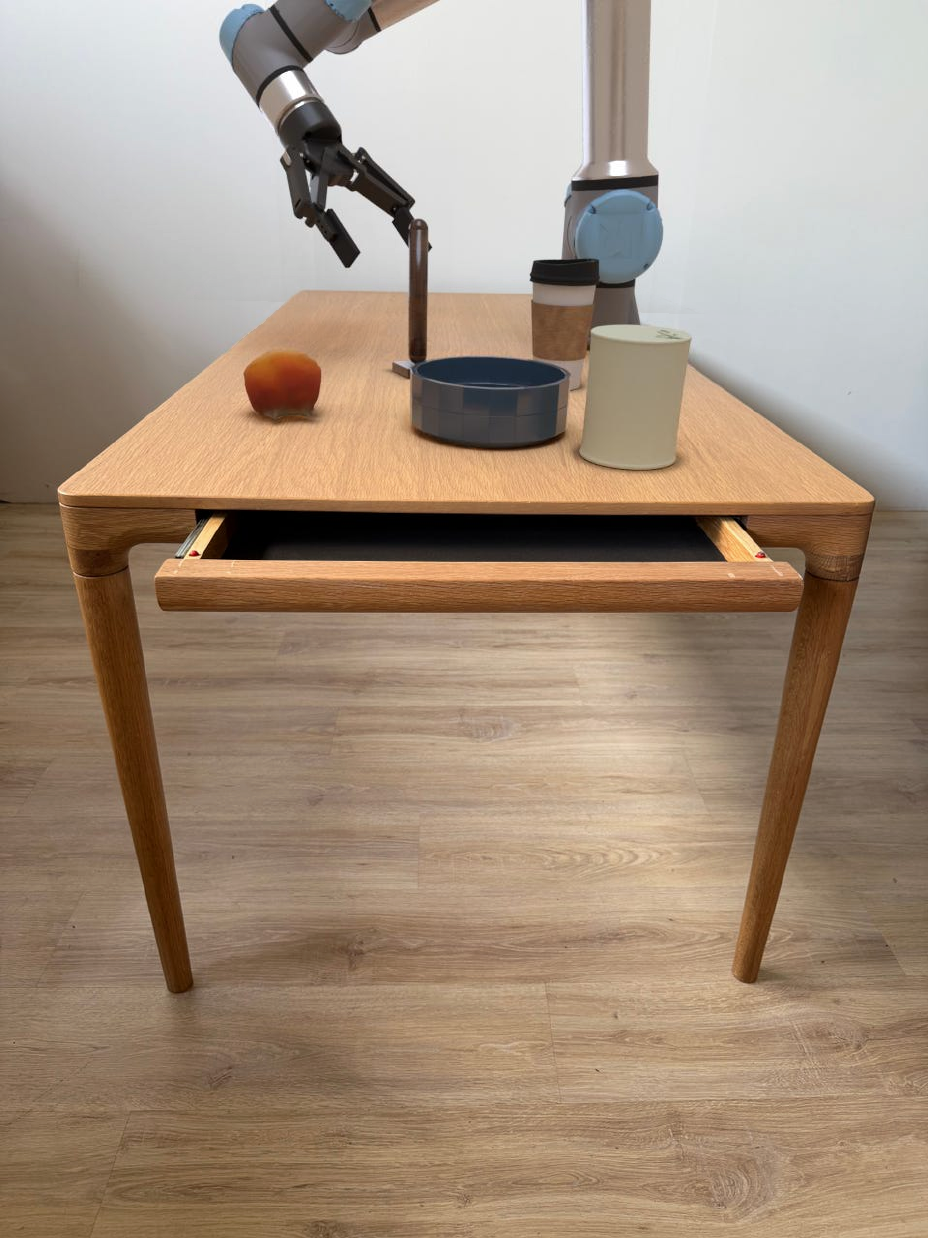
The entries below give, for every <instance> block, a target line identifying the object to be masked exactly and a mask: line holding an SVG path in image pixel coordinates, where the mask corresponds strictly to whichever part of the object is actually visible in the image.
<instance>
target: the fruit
mask: <svg viewBox="0 0 928 1238" xmlns="http://www.w3.org/2000/svg"><path fill="white" fill-rule="evenodd" d="M243 379H244V380H243V381H244V387H245V392H246V394H247V395H246V396H247V397H248V400H249V402H250V405H251V407H252V409H253V410H254V411H255V413H257V414H258V415H259V416H261V417H263V418H271V419H273V420H275V421H277V420H278V419H280V418H282V417H288V416H301V417H302V416H303V417H307V418H308V419H310V420H311V421H312V422H314V420H313V418H312V416H311V415H310V413H311V412H313V411H314V409H315V405H316V403H317V401H318V399H319V397H320V390H321V384H322V369H321V367H320V366H319V364H318V362H317V361H316V360H314V358H312V357H310V355H308V354H307V353H305V352H300V351H298V350H296V349H286V348H285V349H281V348H279V349H277V348H276V349H271V350H268V351H266V352H264V353H262V354H261V355H259V357H257V358H255V359H253V360H252V361H251V362H250V363H249V364H247V366H246V367H245V369H244V371H243Z"/></svg>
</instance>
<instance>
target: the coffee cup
mask: <svg viewBox="0 0 928 1238" xmlns="http://www.w3.org/2000/svg"><path fill="white" fill-rule="evenodd" d="M529 277H530V278H529V282H530V283H532V299H531V300H530V309H531V311H530V312H531V315H530V316H531V344H532V345H531V346H532V347H531V348H532V349H531V350H532V360H536V361H540V362H545V363H550V364H553V365H556V366H559V367H561V368H564V369H566V370H567V371H568V372H569V373H571V387H570V391H574V390H578V389H579V388H580V387H581V381H582V376H583V370H584V363H585V358H586V353H587V349H588V348H587V343H588V337H589V332H590V326H591V321H592V315H593V310H594V304H595V303H594V302H593V300H594V294H595V288H596V285H598V284H599V279H600V276H599V260H598V259H592V258H587V259H562V258H561V259H555V258H554V259H553V258H552V259H550V258H549V259H535V260H532V267H531V270H530V272H529Z"/></svg>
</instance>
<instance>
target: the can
mask: <svg viewBox="0 0 928 1238" xmlns="http://www.w3.org/2000/svg"><path fill="white" fill-rule="evenodd" d="M692 340H693V336H692V334H690V333H689V332H688V331H687V332H686V331H684V330H679V329H676V328H671V327H666V326H665V327H664V326H655V325H643V324H641V325H606V326H599V327H595V328H593V329H592V330H591V345H590V348H589V357H588V358H589V359H588V371H587V383H586V393H585V394H586V395H585V405H584V415H583V427H582V436H581V443H580V447H579V450H578V451H579V455H580V456H581V457H582V458H583V459H584V460H586V461H588V462H590V463H593V464H595V465H598V466H601V467H602V466H603V467H606V468H611V469H621V470H630V471H633V470H634V471H647V470H657V469H662V468H667V467H670V466H671V465H673V464H674V463H675V462H676V461H677V453H676V452H677V451H676V450H677V440H678V433H679V432H678V431H679V425H680V424H679V423H680V418H681V409H682V403H683V395H684V388H685V382H686V376H687V375H686V374H687V368H688V363H689V362H688V361H689V354H690V348H691V343H692Z"/></svg>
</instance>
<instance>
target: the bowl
mask: <svg viewBox="0 0 928 1238" xmlns="http://www.w3.org/2000/svg"><path fill="white" fill-rule="evenodd" d="M570 387H571V373H569V372H568V371H567V370H566V369H564V368H561V367H559V366H556V365H553V364H550V363H545V362H540V361H536V360H533V359H528V358H522V357H521V358H520V357H512V356H496V355H458V356H457V355H456V356H445V357H438V358H432V359H426V361H423V362H420V363H416V364H415V365H414V366H413V367H411V368H410V378H409V420H410V423H411V425H412V426H413V427H414V428H416V429H417V430H419V431H420V432H423V433H424V435H427V436H428V437H430V438H432V439H435V440H437V441H441V442H443V443H446V444H447V443H448V444H452V445H458V446H463V447H473V448H485V449H507V448H508V449H509V448H511V449H512V448H521V447H527V446H534V445H538V444H542V443H545V442H548V441H550V440H551V439H553V438H554V437H556V436H558V435H560V434H562V433H564V432H565V431H566V430H567V427H568V422H569V411H570V410H569V409H570V397H571V390H570Z"/></svg>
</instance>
